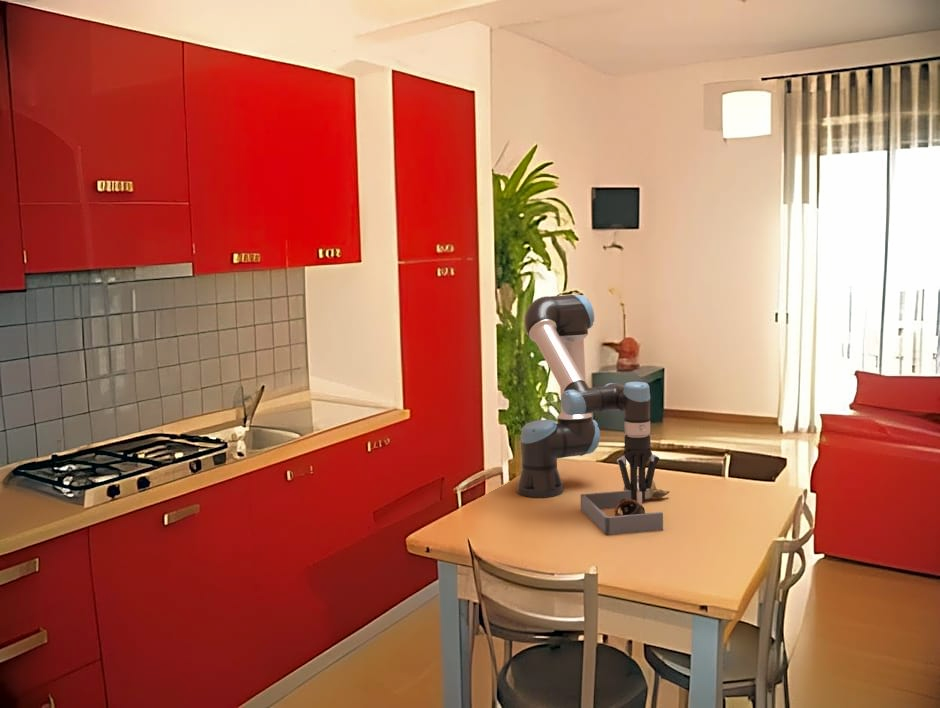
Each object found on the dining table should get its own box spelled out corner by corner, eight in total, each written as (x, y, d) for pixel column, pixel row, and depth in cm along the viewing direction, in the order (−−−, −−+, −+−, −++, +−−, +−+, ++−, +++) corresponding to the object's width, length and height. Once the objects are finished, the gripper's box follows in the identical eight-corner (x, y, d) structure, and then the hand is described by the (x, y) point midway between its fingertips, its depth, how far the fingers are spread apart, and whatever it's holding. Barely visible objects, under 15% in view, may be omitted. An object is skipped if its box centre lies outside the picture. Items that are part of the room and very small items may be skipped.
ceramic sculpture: (614, 473, 277) (646, 467, 286) (613, 500, 278) (645, 493, 287) (639, 480, 269) (671, 474, 278) (638, 508, 270) (670, 501, 279)
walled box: (580, 510, 270) (580, 494, 270) (633, 505, 273) (633, 489, 272) (606, 535, 247) (605, 518, 246) (663, 529, 250) (662, 512, 249)
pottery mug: (656, 527, 254) (647, 507, 250) (628, 544, 253) (619, 524, 249) (636, 505, 264) (628, 486, 260) (610, 521, 263) (601, 502, 259)
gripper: (620, 439, 253) (621, 517, 256) (663, 435, 255) (663, 513, 258) (612, 433, 260) (613, 510, 263) (653, 430, 262) (653, 506, 266)
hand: (638, 511), depth 261 cm, fingers closed
